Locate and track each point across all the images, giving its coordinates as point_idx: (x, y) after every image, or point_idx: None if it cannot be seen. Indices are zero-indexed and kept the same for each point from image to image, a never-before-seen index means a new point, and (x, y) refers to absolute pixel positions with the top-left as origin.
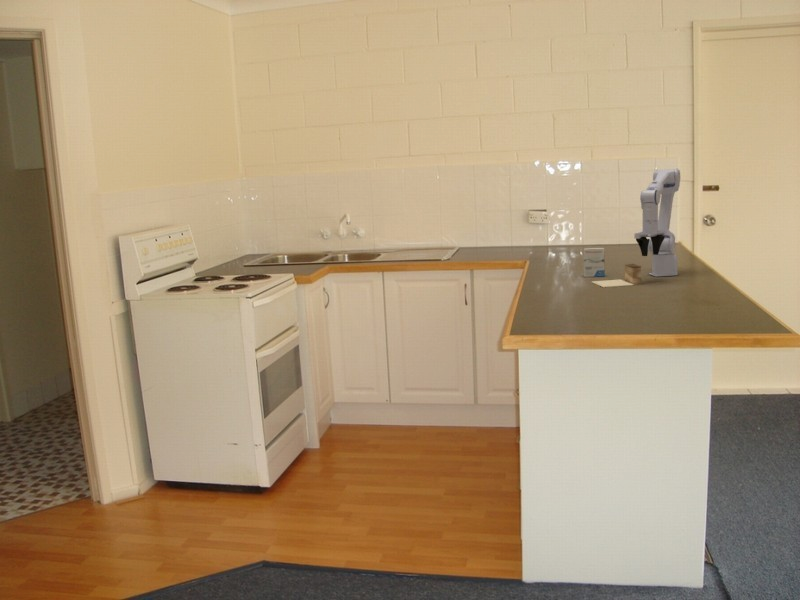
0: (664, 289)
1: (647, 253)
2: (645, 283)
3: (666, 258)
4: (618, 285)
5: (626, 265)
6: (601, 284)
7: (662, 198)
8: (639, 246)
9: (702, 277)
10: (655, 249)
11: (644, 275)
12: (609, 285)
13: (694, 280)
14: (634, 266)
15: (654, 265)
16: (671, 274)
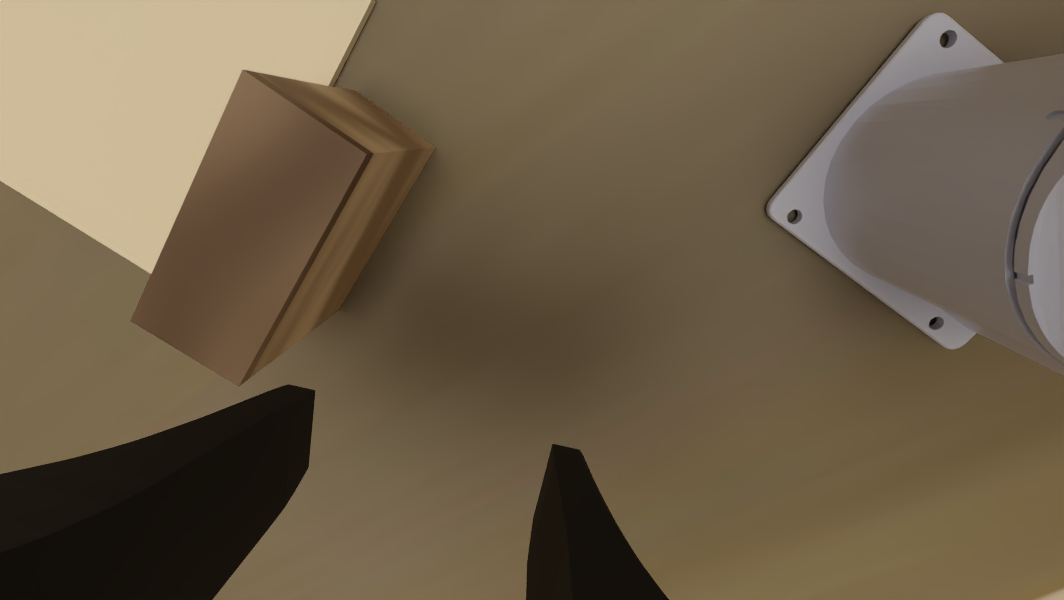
0: (246, 572)
1: (280, 507)
2: (374, 331)
3: (1016, 343)
4: (86, 229)
5: (222, 131)
6: (2, 42)
7: None
8: (99, 452)
9: (900, 557)
10: (539, 555)
11: (837, 14)
12: (26, 155)
13: (717, 569)
14: (165, 330)
15: (900, 159)
16: (906, 308)
